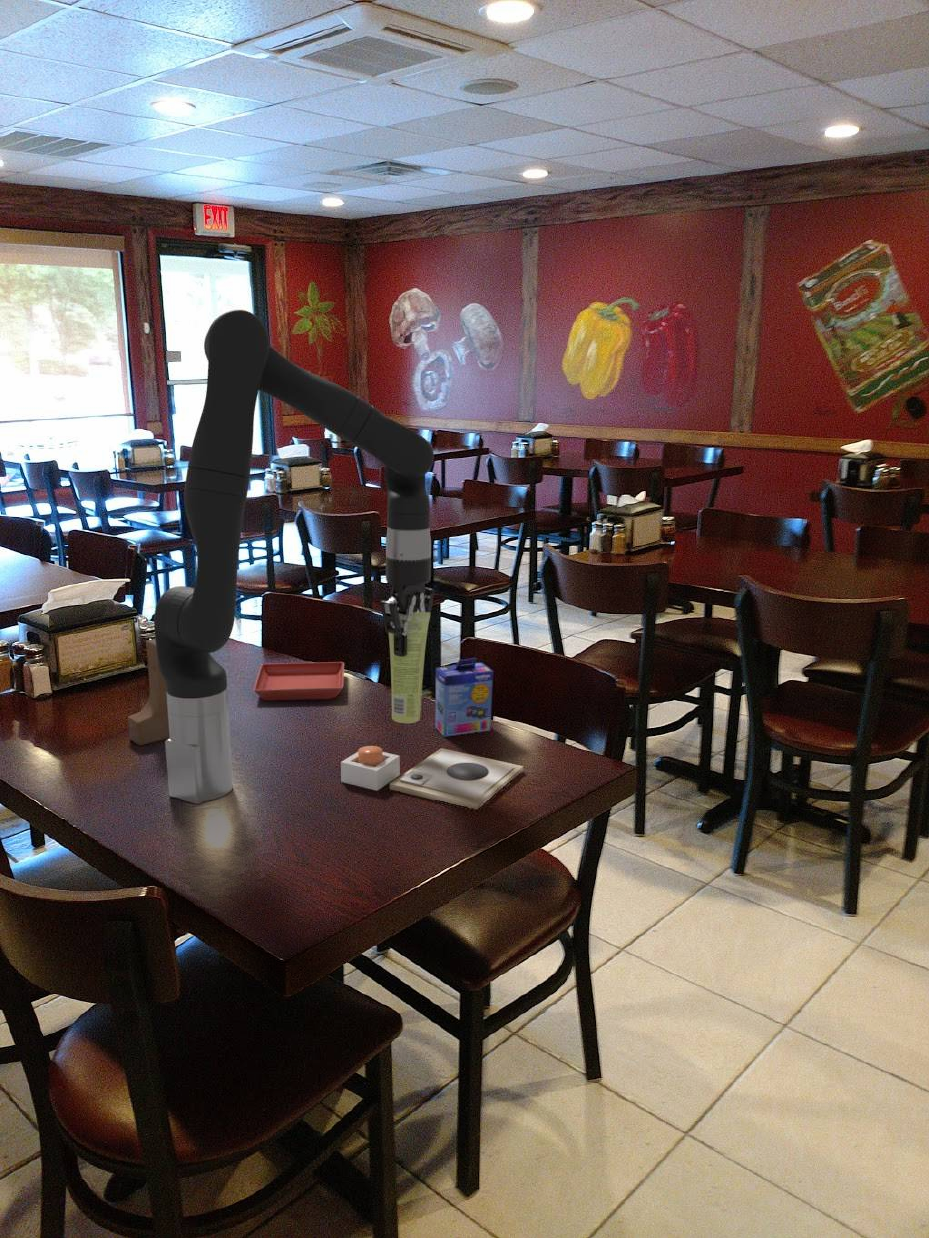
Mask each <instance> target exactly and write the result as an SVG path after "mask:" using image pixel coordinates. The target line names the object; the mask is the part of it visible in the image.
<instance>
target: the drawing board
mask: <svg viewBox="0 0 929 1238" xmlns="http://www.w3.org/2000/svg"><path fill="white" fill-rule="evenodd" d="M521 771H523V772H524V765H518V764H514V763H510V762H506V761H501V760H497V759H492V758H487V757H483V756H479V755H474V754H469V753H465V752H460V751H456V750H452V749H446V748H443V747H441V748H439V749H438V750H436V751H435V752H434V753H431V755H429V756H428V757H426V758H425V759H423V760H422V761H420V762H418V763H417V764H416V765H415V766H413V767H412V768H410V769H409V770H407V771H406V772H404V773H403V774H402V775H401V774H400V775H399V776H398V777H396V778H395V779H393V780H392V781H390V782H389V790H391V791H395V792H399V791H400V792H399V793H403V794H407V795H412V796H416V797H419V798H424V799H428V800H431V801H435V800H440V801H444V802H448V803H451V804H456V805H461V806H466V807H468V808H474V809H478V808H479V807H481V806H482V805H483V803H485V802H486V801H487V800H489V799H490V798H491V797H492V796H493V795H494V794H495V793H496V792H497V791H498V790H500V789H501V788H503V786H505V785H506V784H507V783H508V782H509V781H510V780H512V779H513V778H514V777H515V776H516V775H517V774H518V773H520V772H521ZM451 804H450V805H451ZM481 808H482V807H481Z"/></svg>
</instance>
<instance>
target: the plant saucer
mask: <svg viewBox="0 0 929 1238" xmlns="http://www.w3.org/2000/svg"><path fill="white" fill-rule="evenodd" d="M344 670H345V662H343V661H333V662H332V661H327V662H323V661H322V662H283V663H279V662H278V663H263V664H261V665H260V667H259V671H258V674H257V677H256V680H255V682H254V686H253V691H254V692H255V694H257V695H258V696H259V697H260V698H261V699H262V700H264V701H291V700H293V701H294V700H295V701H296V700H298V701H299V700H300V701H301V700H331V699H335V698H336V697H337V696H338V695H339V694H340V693H341V691H342V690H343V688H344V680H345V679H344V676H345V675H344V674H345V671H344Z"/></svg>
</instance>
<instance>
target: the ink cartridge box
mask: <svg viewBox="0 0 929 1238" xmlns="http://www.w3.org/2000/svg"><path fill="white" fill-rule="evenodd" d="M467 662H470V663H467ZM463 663H465V664H463ZM493 677H494V670H492V669H491V668H490V667H489V666H487V665H486V664H484V663H483V662H477V657H471V658H466V659H459V660H458V662H457V664H453V665H447V666H440V667H436V668H435V719H434V720H435V721H434V722H435V724H434V726H435V728H436V730H437V731H438V732H439V733H440V734H441V735H442V736H443V737H444V738H448V737H454V736H460V735H461V734H462V735H467V734H468V733H469V734H475V732H477V733H483V732H490V731H491V721H492V720H491V719H492V699H493V682H494V680H493ZM469 734H468V735H469Z"/></svg>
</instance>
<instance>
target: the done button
mask: <svg viewBox="0 0 929 1238" xmlns="http://www.w3.org/2000/svg"><path fill="white" fill-rule="evenodd" d="M357 752H358V763H360V764H364V765H368V766H373V767H375V766H377V765H379V764H380V763H382V762H383V752H384V751H383V748H381V747H380V746H377V745H366V746H362V747H360V748H358V751H357Z"/></svg>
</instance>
